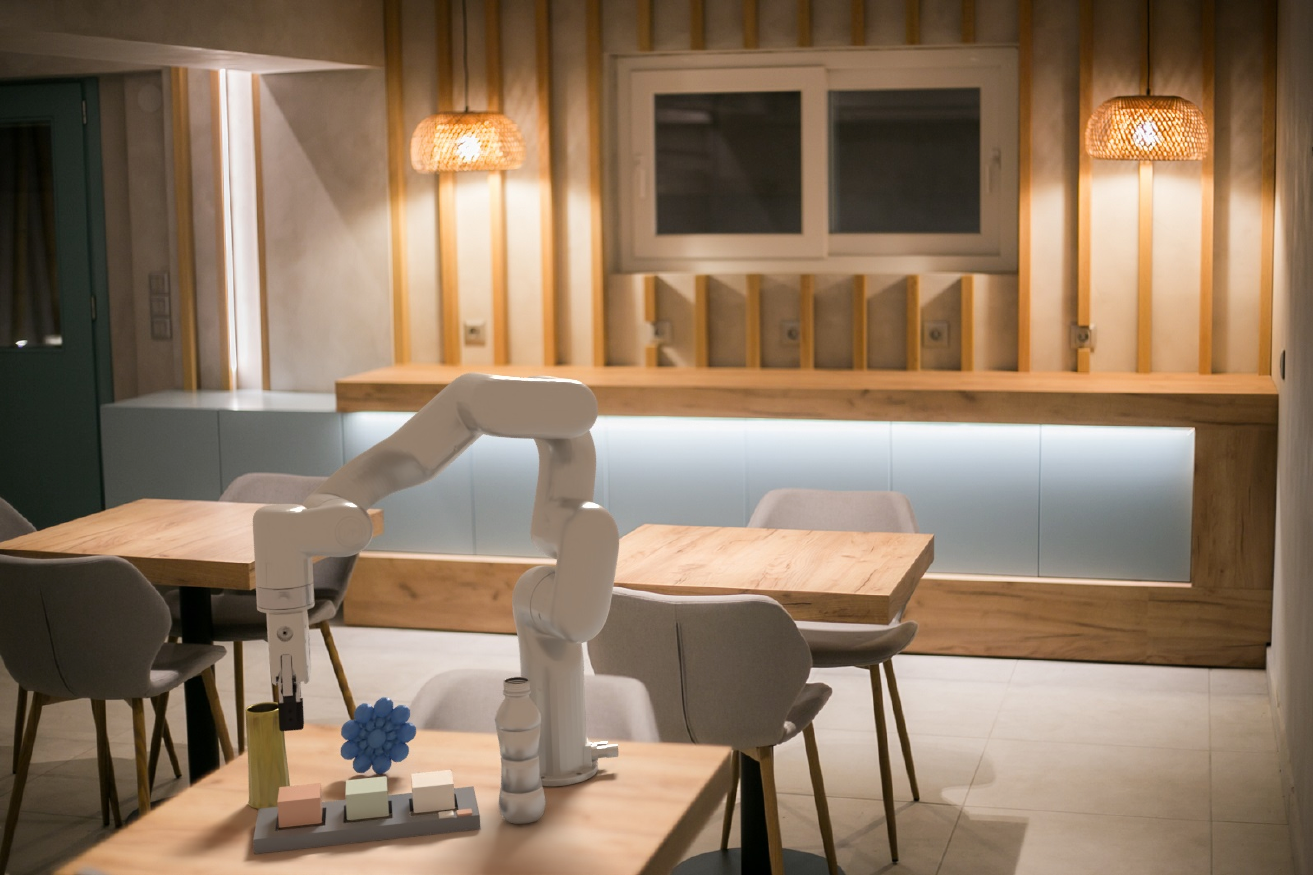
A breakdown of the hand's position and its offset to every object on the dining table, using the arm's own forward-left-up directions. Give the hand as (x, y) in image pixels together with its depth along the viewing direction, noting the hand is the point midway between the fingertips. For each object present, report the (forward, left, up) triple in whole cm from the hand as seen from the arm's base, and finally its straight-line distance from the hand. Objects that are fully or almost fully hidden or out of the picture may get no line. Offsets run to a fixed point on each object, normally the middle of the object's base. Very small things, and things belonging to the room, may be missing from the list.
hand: (291, 728), depth 196 cm
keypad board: (-9, 0, -15) cm, 18 cm away
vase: (+5, -13, -15) cm, 21 cm away
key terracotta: (0, 0, -13) cm, 13 cm away
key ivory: (-18, 0, -13) cm, 23 cm away
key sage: (-9, 0, -13) cm, 16 cm away
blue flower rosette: (-11, -21, -15) cm, 28 cm away
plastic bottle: (-30, +4, -15) cm, 34 cm away
